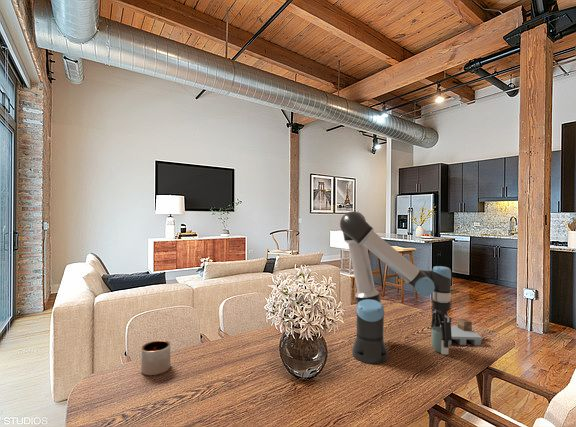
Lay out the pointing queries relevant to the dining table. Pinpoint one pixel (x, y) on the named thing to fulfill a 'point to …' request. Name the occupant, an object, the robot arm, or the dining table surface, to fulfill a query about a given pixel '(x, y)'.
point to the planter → (155, 357)
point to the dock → (464, 336)
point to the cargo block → (464, 324)
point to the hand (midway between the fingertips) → (440, 349)
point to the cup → (437, 339)
